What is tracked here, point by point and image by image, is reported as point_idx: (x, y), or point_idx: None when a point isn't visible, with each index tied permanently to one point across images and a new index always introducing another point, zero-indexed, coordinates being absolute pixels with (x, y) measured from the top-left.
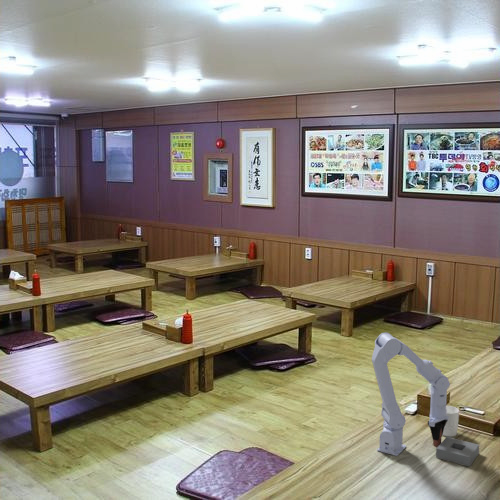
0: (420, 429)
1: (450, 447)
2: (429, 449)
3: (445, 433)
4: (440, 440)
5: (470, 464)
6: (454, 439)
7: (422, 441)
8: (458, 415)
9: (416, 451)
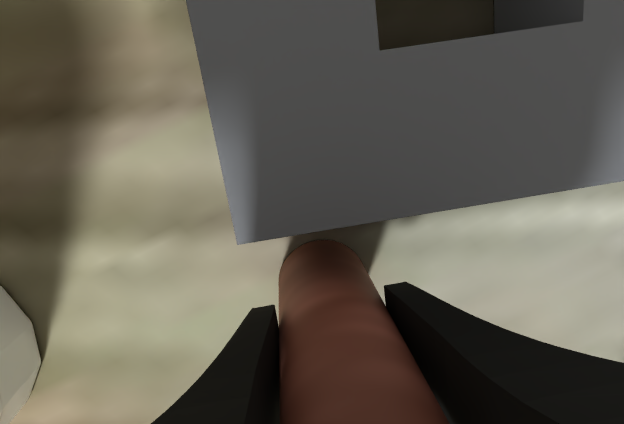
0: None
1: (584, 8)
2: (462, 286)
3: (14, 348)
4: (343, 270)
5: None
6: (246, 101)
7: None
8: None
9: (573, 346)
